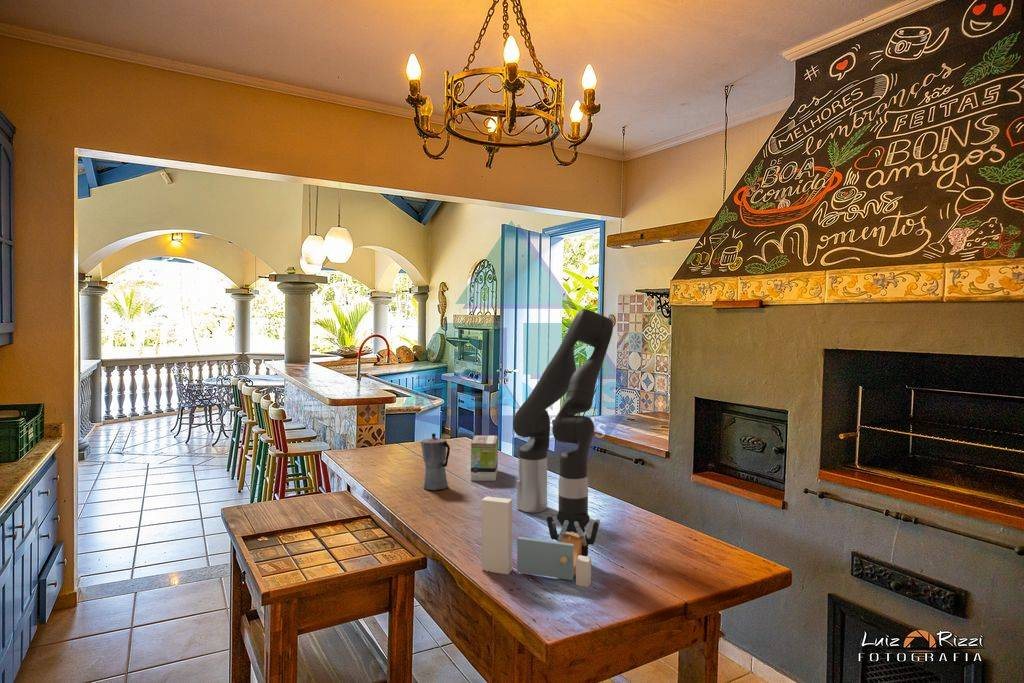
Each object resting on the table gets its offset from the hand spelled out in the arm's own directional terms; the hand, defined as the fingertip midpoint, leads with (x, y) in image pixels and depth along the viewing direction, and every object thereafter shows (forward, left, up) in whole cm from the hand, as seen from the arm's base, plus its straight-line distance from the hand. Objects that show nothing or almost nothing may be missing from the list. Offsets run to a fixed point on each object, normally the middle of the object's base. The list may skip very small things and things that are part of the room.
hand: (573, 556), depth 149 cm
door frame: (-7, -10, -1) cm, 13 cm away
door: (-5, -11, -1) cm, 12 cm away
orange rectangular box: (0, -4, -1) cm, 4 cm away
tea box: (-51, +66, -2) cm, 83 cm away
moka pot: (-62, +46, -2) cm, 77 cm away
